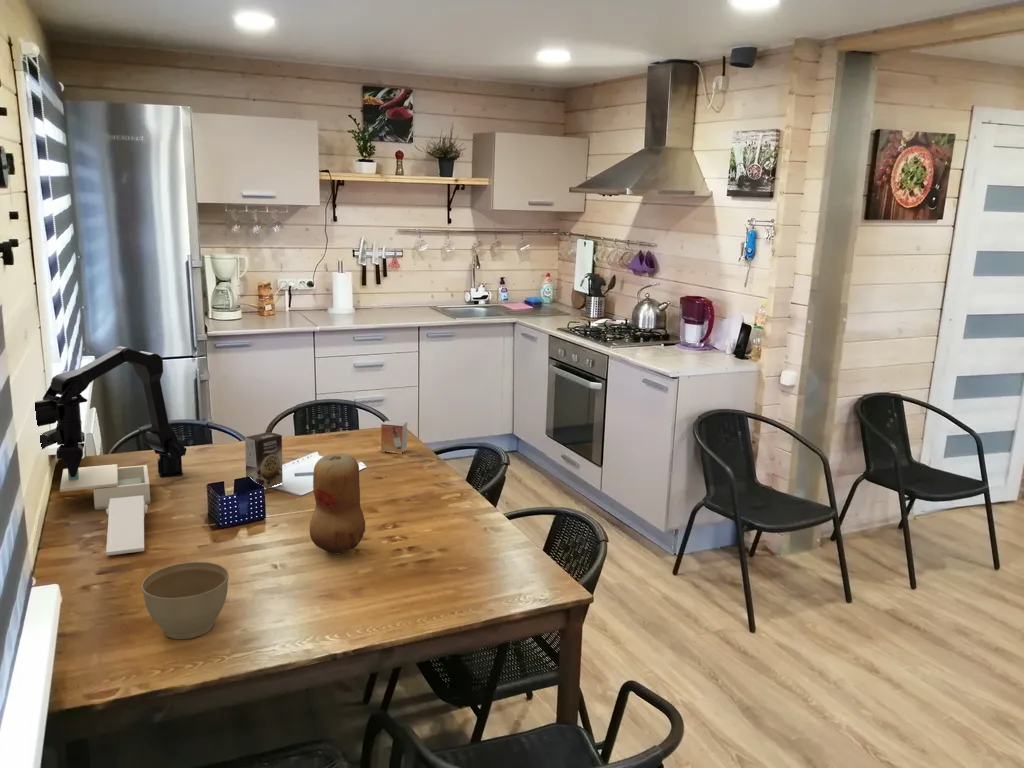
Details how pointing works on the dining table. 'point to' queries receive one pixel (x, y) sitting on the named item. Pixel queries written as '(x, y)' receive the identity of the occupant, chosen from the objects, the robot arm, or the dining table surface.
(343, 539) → the butternut squash
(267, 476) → the coffee box
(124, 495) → the carton
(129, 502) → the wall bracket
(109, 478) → the cover panel
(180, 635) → the planter bowl
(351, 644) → the dining table surface
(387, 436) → the small box
